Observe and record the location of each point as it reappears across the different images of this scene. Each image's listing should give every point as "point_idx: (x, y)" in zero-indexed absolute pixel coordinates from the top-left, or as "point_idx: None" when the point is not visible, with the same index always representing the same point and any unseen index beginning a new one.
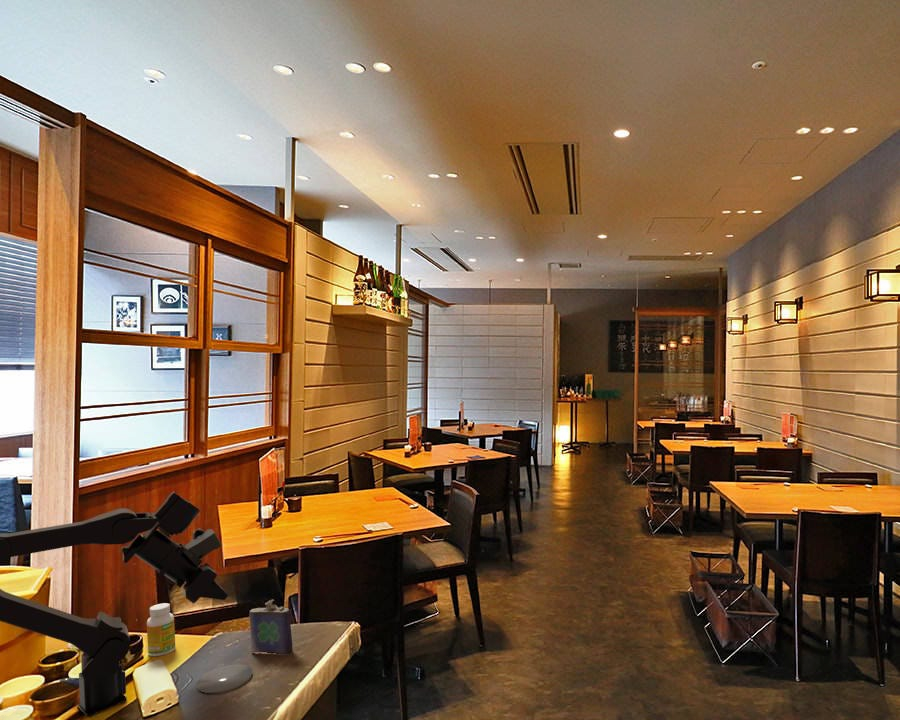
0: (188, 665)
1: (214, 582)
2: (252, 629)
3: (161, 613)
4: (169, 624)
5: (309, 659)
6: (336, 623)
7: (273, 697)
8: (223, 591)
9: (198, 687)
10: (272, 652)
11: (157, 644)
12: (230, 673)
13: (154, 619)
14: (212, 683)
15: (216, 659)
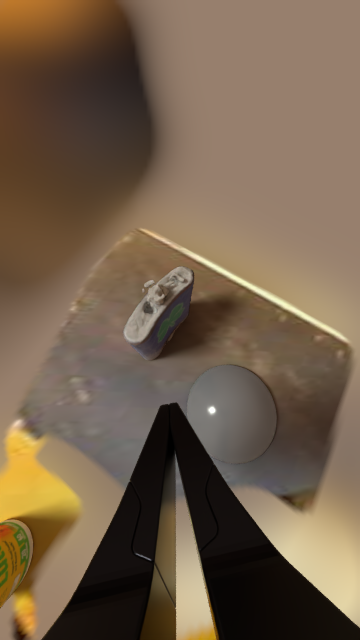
0: (129, 481)
1: (248, 515)
2: (150, 348)
3: None
4: None
5: (219, 288)
6: (120, 241)
7: (314, 344)
8: (190, 426)
9: (253, 459)
10: (173, 329)
11: (7, 593)
12: (223, 399)
13: None
14: (247, 432)
15: (135, 422)
